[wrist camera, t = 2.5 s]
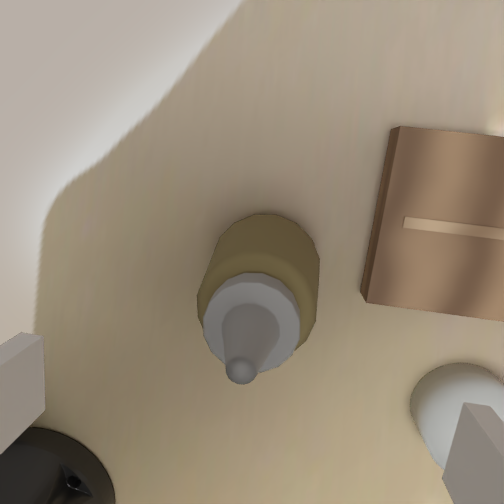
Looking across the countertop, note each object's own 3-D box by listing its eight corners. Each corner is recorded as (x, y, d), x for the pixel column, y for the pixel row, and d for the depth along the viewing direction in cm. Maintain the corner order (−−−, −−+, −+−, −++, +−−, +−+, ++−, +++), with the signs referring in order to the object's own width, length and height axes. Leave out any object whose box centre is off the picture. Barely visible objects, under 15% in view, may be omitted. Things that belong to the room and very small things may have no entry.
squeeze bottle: (254, 188, 30) (206, 221, 13) (336, 244, 31) (398, 348, 13) (202, 268, 32) (100, 390, 15) (280, 319, 33) (270, 497, 15)
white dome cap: (402, 437, 34) (418, 473, 30) (418, 357, 32) (437, 384, 28) (494, 448, 34) (521, 486, 30) (515, 368, 32) (548, 397, 28)
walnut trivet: (360, 292, 31) (366, 303, 29) (390, 129, 28) (400, 125, 26) (522, 314, 31) (543, 327, 28) (571, 148, 28) (600, 147, 25)
